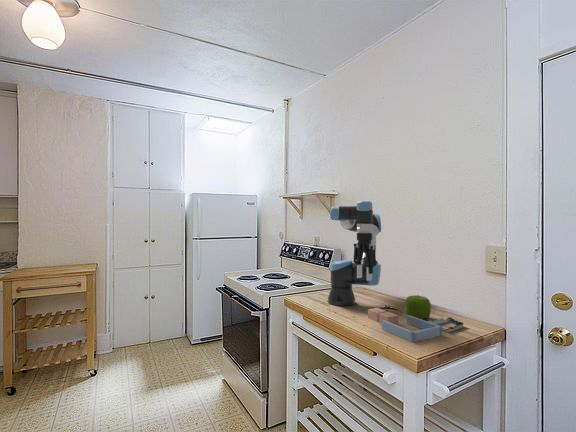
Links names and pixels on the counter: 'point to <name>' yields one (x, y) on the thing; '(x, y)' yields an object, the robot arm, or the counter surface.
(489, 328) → the counter surface
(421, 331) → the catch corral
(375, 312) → the terracotta tile
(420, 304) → the apple
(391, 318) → the terracotta tile
